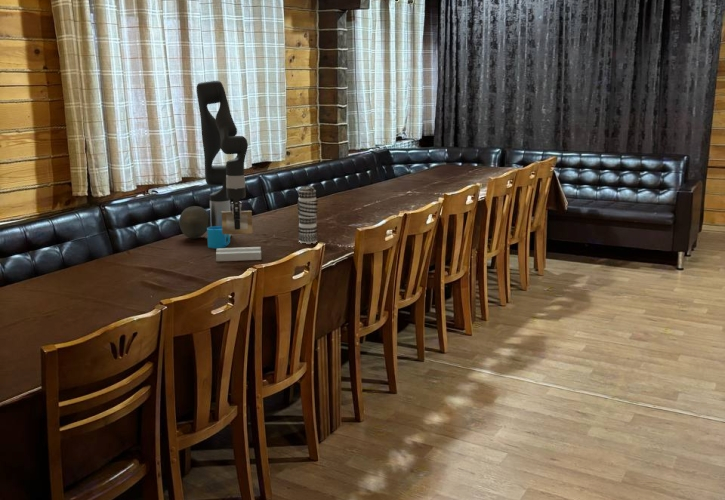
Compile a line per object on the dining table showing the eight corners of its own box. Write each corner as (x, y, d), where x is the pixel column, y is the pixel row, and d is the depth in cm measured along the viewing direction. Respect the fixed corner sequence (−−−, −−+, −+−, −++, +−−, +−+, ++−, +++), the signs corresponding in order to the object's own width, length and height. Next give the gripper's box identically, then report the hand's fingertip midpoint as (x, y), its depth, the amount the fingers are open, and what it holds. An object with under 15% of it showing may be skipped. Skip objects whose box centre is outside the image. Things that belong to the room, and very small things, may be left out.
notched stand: (217, 255, 280) (216, 248, 279) (260, 253, 283) (260, 246, 283) (216, 261, 271) (215, 254, 270) (261, 259, 274) (261, 252, 273)
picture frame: (222, 233, 275) (221, 211, 273) (252, 232, 277) (251, 210, 275) (222, 234, 272) (221, 212, 270) (252, 233, 274) (251, 211, 272)
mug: (203, 246, 296) (202, 228, 294) (217, 243, 302) (216, 225, 300) (223, 250, 289) (222, 231, 287) (236, 246, 296) (236, 228, 294)
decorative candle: (315, 244, 300) (314, 189, 294) (295, 243, 302) (294, 188, 296) (320, 240, 309) (320, 186, 303) (301, 239, 310) (300, 185, 305)
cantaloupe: (173, 239, 308) (171, 207, 304) (194, 234, 320) (192, 203, 316) (196, 243, 302) (195, 210, 298) (217, 237, 314) (215, 205, 310)
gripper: (226, 184, 276) (228, 225, 280) (225, 188, 263) (227, 232, 267) (245, 183, 277) (246, 224, 281) (245, 188, 264) (246, 231, 268)
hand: (237, 228), depth 274 cm, fingers closed on picture frame, 2 cm apart
